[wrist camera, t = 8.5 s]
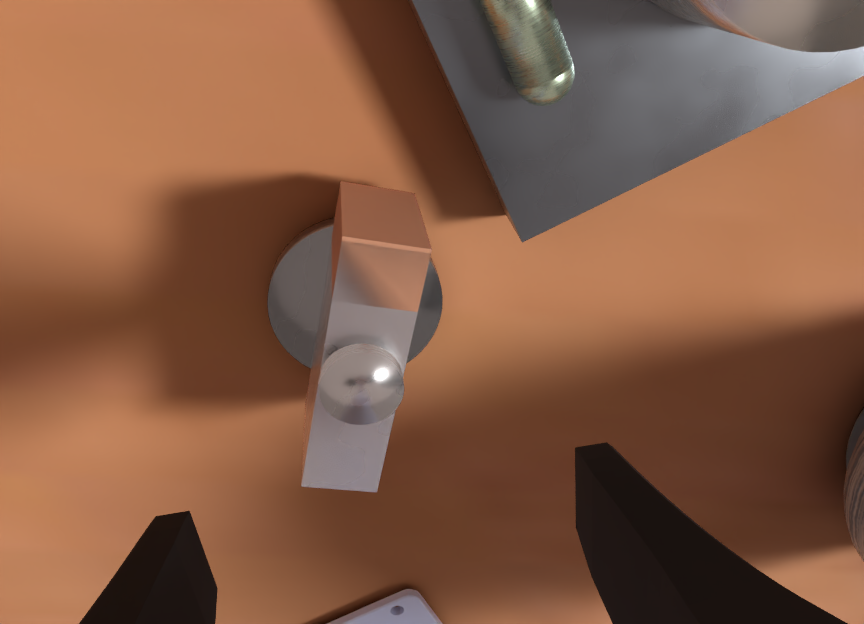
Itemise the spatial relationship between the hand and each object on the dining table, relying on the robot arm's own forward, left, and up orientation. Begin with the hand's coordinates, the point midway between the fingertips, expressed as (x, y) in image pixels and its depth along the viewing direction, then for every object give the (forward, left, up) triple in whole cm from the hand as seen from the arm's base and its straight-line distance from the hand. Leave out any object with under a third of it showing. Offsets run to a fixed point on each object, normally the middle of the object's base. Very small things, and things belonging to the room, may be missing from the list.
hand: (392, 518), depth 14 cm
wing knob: (0, 0, -10) cm, 10 cm away
